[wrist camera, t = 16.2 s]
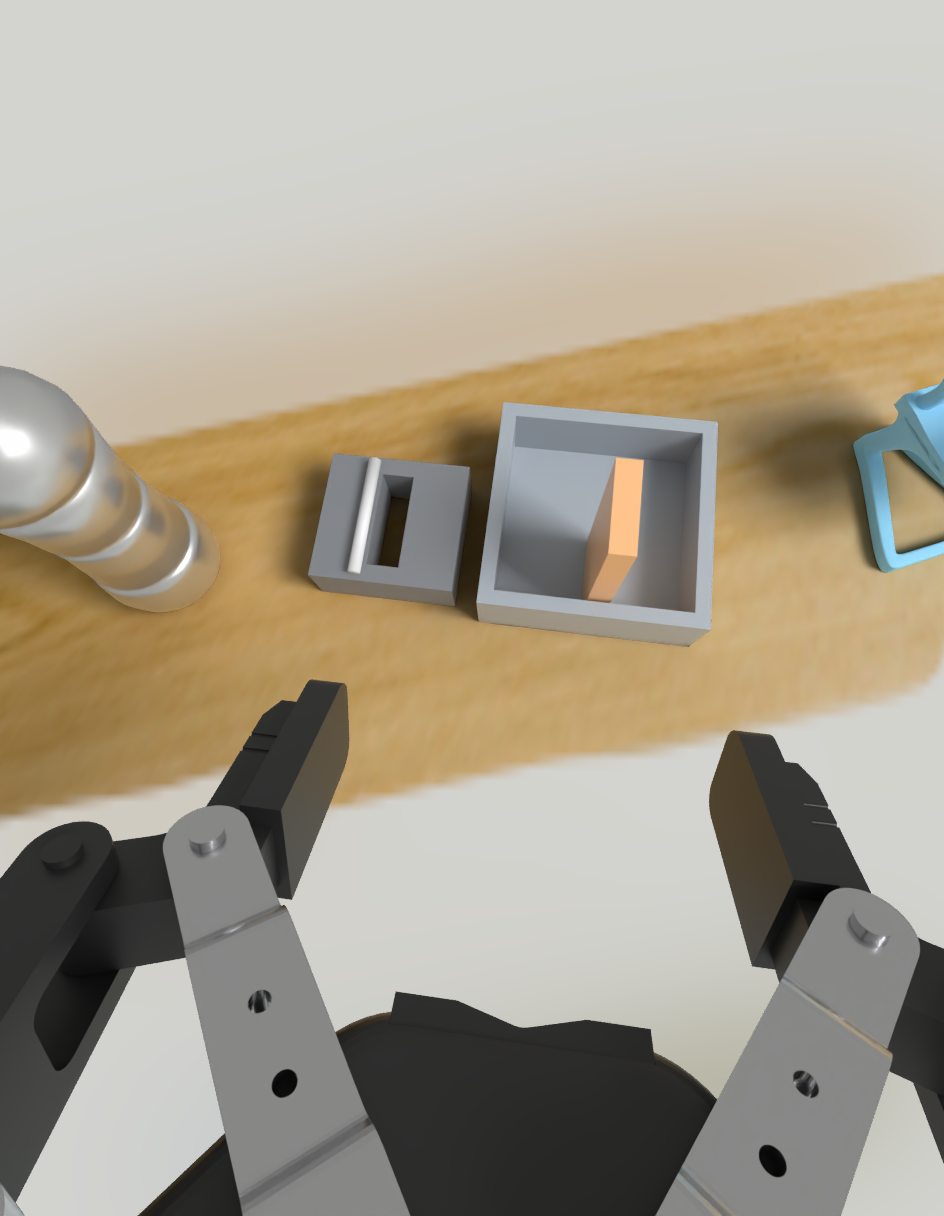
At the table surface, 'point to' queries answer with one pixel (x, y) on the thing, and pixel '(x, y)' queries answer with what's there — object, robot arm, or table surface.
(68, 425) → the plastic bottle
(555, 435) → the tray
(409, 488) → the ticket dispenser
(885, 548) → the chair
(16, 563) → the table surface
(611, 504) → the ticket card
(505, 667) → the table surface
